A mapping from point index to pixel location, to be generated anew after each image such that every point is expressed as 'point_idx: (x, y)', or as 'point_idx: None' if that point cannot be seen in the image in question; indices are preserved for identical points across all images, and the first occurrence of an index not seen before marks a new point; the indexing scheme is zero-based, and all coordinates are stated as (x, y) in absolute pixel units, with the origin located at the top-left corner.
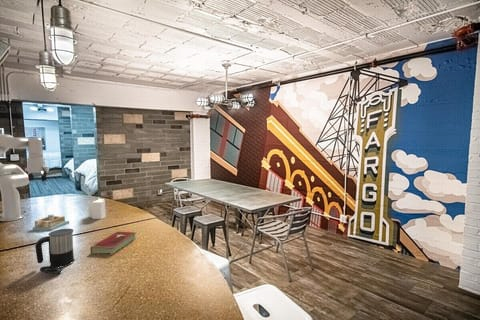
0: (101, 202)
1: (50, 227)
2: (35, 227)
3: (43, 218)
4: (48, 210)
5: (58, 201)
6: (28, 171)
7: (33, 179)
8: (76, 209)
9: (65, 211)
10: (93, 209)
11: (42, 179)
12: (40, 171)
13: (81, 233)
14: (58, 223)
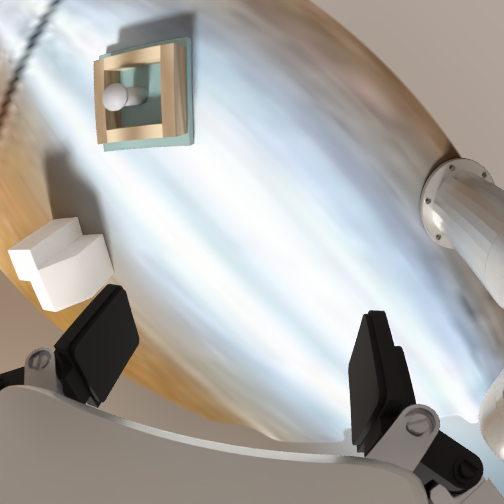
0: (10, 253)
1: None
2: (174, 41)
3: (168, 90)
4: None
5: None
6: (369, 483)
7: (349, 372)
8: (255, 343)
9: (283, 317)
10: (47, 234)
11: (97, 298)
12: (2, 394)
13: (15, 78)
14: None
